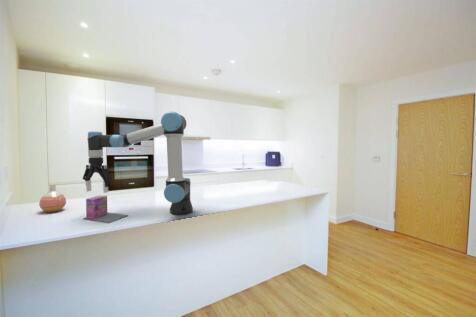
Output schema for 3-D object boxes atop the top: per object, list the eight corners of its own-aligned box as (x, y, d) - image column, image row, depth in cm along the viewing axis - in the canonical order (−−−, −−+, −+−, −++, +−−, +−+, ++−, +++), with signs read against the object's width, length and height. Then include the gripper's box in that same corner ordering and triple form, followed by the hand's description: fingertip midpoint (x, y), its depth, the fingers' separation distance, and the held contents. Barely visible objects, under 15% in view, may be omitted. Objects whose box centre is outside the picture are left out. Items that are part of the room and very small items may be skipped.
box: (94, 219, 134) (93, 199, 133) (86, 218, 135) (85, 198, 134) (107, 213, 144) (107, 195, 143) (100, 213, 145) (100, 195, 144)
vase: (56, 214, 143) (55, 186, 142) (33, 214, 142) (32, 186, 141) (71, 208, 157) (70, 183, 156) (50, 208, 156) (49, 183, 155)
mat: (127, 216, 142) (127, 215, 142) (109, 223, 129) (109, 222, 129) (103, 212, 148) (103, 211, 148) (83, 219, 135) (83, 218, 135)
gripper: (117, 157, 137) (118, 191, 138) (86, 156, 145) (87, 189, 146) (106, 157, 130) (107, 194, 131) (74, 157, 138) (76, 191, 139)
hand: (97, 191), depth 138 cm, fingers open, 13 cm apart
